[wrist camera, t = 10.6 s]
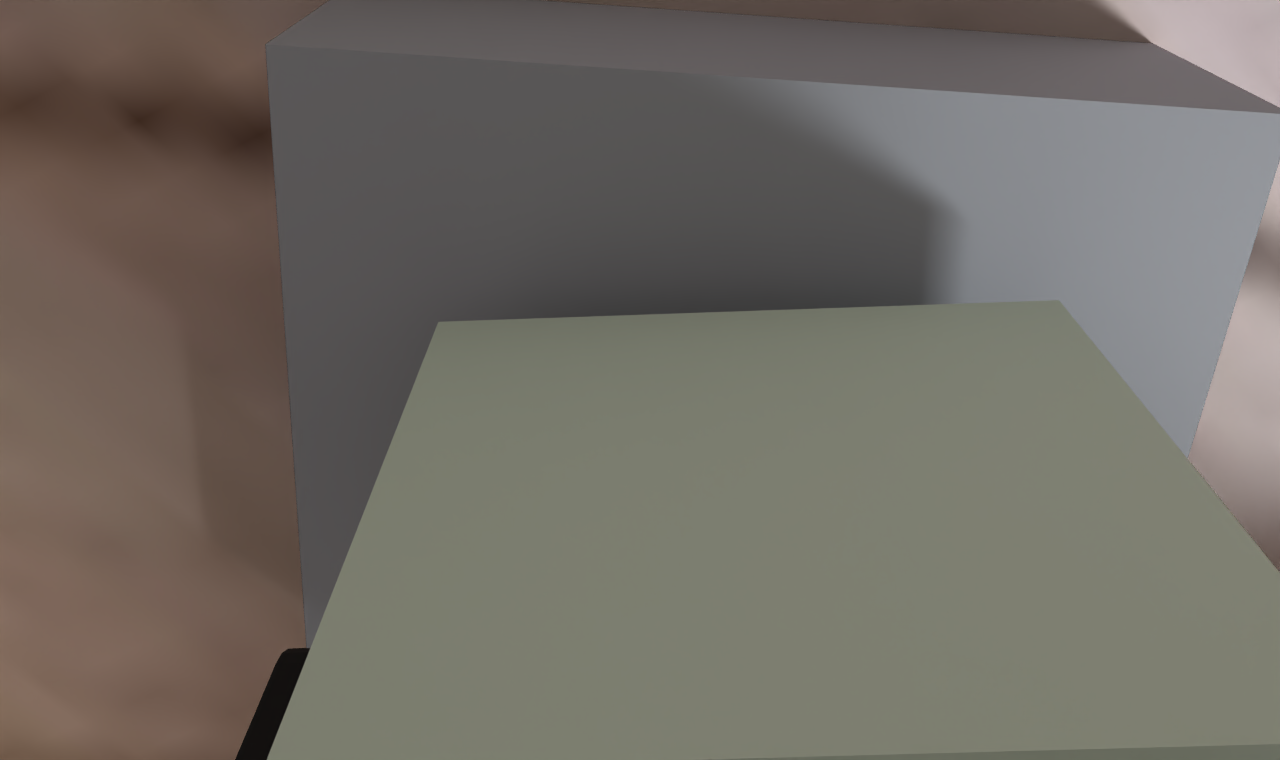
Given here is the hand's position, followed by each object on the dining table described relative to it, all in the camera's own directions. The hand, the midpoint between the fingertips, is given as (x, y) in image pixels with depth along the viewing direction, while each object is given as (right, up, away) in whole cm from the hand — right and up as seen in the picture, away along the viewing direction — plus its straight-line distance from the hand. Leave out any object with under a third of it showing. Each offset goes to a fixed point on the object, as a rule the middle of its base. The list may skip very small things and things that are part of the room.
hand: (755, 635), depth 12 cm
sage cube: (0, +1, +1) cm, 1 cm away
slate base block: (0, +3, +5) cm, 6 cm away
